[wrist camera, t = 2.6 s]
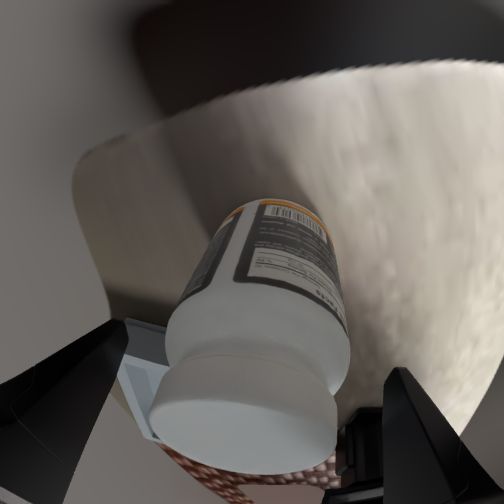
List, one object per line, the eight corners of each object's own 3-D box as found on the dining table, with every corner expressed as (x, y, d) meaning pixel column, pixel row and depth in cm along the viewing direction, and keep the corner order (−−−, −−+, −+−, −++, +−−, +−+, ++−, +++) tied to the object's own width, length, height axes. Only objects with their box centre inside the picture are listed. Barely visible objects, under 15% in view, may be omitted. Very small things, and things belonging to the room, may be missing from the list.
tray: (305, 353, 18) (303, 392, 15) (271, 440, 25) (268, 466, 23) (126, 317, 19) (106, 348, 16) (154, 414, 26) (144, 437, 23)
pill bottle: (251, 308, 17) (210, 480, 8) (195, 222, 15) (85, 391, 6) (349, 274, 15) (375, 467, 6) (303, 172, 13) (306, 357, 4)
